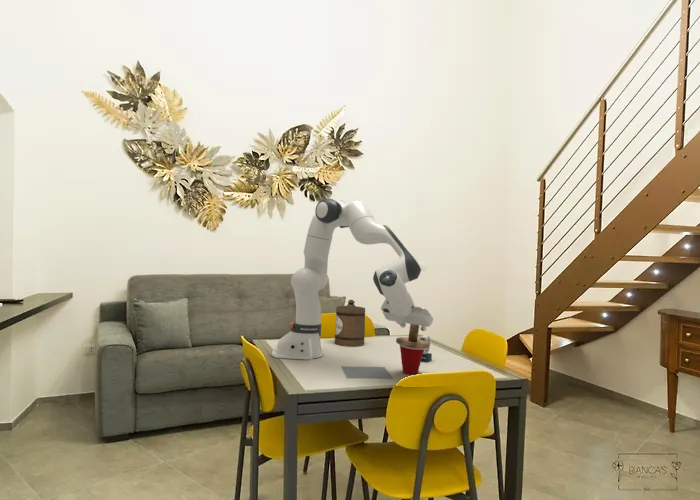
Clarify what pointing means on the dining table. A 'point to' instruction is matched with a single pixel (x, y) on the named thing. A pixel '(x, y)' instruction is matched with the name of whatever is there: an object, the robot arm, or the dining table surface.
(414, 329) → the walnut lid
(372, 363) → the dining table surface
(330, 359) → the dining table surface
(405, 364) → the plastic cup
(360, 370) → the rubber mat
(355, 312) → the wooden container
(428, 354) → the grey black curved piece
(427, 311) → the robot arm
